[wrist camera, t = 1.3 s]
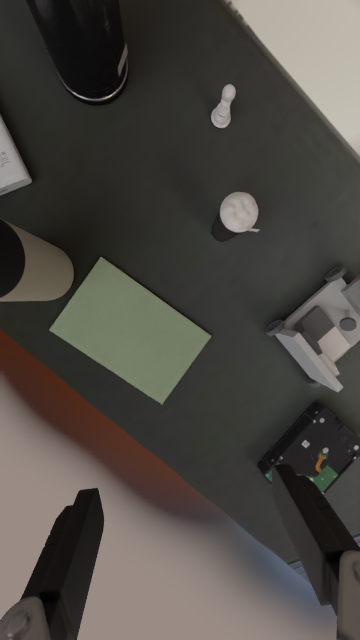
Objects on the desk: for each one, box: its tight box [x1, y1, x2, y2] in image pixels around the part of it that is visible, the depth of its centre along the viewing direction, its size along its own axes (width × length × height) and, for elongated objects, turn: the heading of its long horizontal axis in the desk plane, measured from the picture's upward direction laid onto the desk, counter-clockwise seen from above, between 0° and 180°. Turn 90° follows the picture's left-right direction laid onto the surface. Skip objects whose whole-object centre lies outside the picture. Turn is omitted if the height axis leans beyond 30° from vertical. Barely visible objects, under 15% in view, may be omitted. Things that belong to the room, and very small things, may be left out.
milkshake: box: [212, 192, 259, 242], centre depth 32 cm, size 4×5×10 cm
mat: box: [50, 257, 211, 404], centre depth 37 cm, size 20×13×1 cm, turn 54°
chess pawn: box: [211, 84, 236, 128], centre depth 33 cm, size 3×3×5 cm
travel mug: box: [0, 219, 74, 301], centre depth 26 cm, size 8×8×18 cm
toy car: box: [265, 266, 360, 392], centre depth 34 cm, size 18×10×12 cm
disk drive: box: [257, 401, 360, 494], centre depth 40 cm, size 10×3×15 cm
